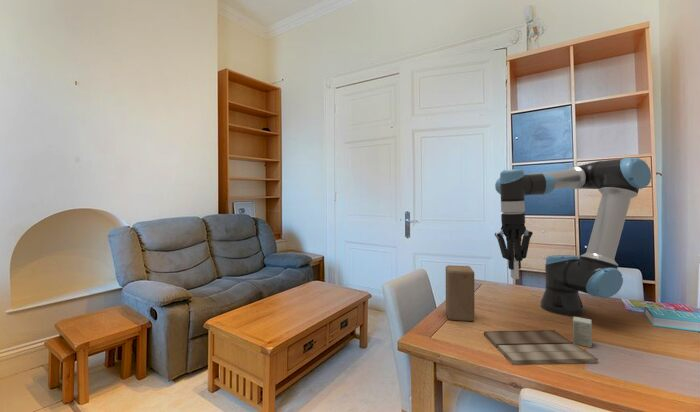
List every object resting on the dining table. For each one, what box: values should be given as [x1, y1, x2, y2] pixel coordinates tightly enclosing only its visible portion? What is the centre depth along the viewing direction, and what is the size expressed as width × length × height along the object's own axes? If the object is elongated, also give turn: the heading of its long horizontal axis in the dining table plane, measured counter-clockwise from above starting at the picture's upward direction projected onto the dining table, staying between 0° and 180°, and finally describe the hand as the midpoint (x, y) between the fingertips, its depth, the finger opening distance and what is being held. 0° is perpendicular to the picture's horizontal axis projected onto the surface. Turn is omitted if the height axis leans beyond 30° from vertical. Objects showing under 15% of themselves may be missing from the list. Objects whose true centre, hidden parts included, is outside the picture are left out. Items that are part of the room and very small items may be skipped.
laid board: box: [497, 343, 599, 365], centre depth 95 cm, size 25×9×1 cm, turn 90°
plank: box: [483, 329, 574, 349], centre depth 105 cm, size 25×9×1 cm, turn 90°
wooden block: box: [445, 264, 475, 322], centre depth 126 cm, size 10×10×20 cm
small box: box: [572, 316, 593, 348], centre depth 102 cm, size 5×4×8 cm
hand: (514, 278), depth 112 cm, fingers closed
